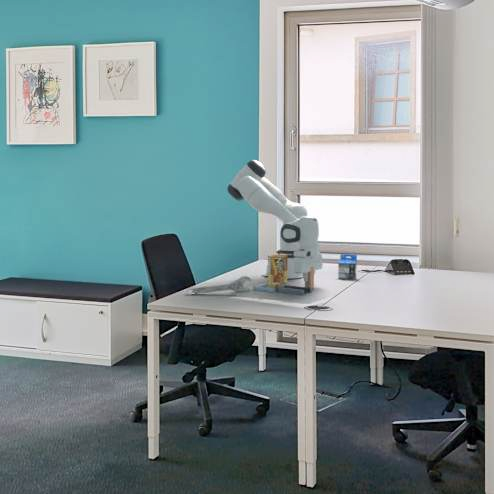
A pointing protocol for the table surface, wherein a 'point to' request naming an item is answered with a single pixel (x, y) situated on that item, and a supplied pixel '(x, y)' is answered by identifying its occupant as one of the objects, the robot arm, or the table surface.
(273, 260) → the candy box
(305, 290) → the channel
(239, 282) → the wrench
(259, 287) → the tray
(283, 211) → the robot arm
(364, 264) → the table surface
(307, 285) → the pinkish tan block
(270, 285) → the chip
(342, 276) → the label tape cartridge
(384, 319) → the table surface
